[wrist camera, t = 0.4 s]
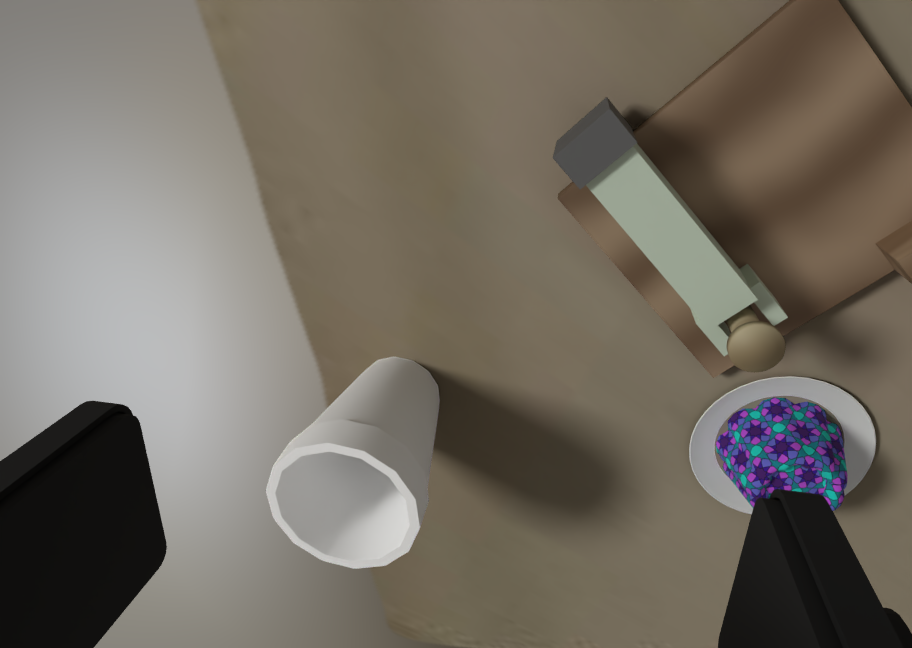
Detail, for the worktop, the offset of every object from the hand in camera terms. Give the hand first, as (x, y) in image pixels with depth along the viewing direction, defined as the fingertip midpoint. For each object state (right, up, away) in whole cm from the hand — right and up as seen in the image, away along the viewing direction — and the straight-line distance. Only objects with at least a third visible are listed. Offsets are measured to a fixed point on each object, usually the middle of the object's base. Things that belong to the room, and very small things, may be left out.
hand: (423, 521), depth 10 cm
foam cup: (-4, -2, +39) cm, 39 cm away
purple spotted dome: (+23, -5, +35) cm, 43 cm away
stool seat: (+18, +10, +28) cm, 35 cm away
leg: (+13, +9, +28) cm, 32 cm away
